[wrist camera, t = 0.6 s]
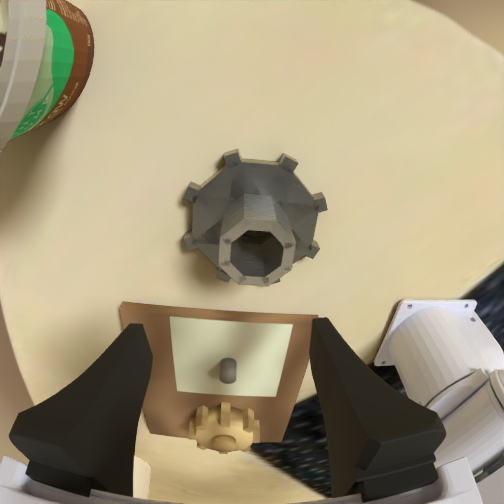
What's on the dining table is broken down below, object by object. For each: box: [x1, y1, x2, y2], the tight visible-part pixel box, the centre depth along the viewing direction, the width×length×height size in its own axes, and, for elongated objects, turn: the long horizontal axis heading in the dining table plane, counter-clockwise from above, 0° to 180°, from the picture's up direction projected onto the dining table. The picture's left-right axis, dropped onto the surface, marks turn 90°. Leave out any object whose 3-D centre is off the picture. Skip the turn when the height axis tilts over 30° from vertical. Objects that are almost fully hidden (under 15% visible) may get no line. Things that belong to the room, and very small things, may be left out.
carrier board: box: [119, 302, 319, 454], centre depth 28 cm, size 16×20×4 cm
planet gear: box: [183, 149, 328, 286], centre depth 20 cm, size 9×9×5 cm
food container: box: [0, 0, 94, 152], centre depth 12 cm, size 12×6×10 cm, turn 128°
